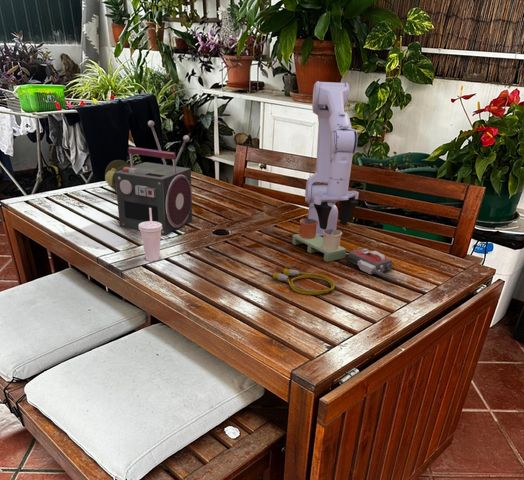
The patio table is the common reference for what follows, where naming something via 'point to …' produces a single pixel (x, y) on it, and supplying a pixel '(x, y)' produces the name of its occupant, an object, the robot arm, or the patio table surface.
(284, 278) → the extension cord
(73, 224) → the patio table surface
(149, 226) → the smoothie
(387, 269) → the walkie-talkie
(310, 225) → the terracotta pot
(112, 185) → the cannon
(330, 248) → the cream pot
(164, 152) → the boombox
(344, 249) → the sage green baseplate
